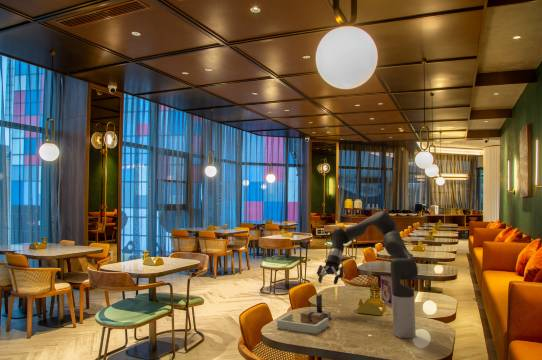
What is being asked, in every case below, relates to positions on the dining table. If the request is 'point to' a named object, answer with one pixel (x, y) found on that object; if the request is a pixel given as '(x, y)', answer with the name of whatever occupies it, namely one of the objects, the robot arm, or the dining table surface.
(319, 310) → the scraper
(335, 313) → the dining table surface
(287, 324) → the tray
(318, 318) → the walnut block
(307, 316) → the walnut block
